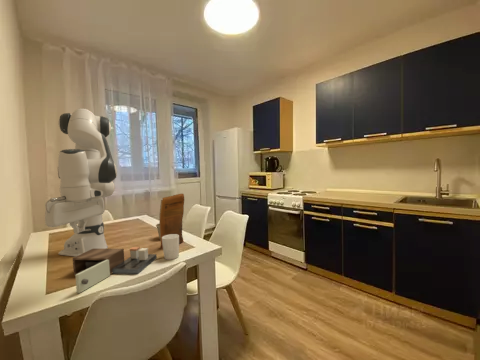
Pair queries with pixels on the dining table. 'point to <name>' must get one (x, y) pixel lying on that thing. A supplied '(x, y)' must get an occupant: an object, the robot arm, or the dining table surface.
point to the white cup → (170, 246)
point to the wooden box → (97, 259)
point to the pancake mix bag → (171, 216)
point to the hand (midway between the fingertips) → (79, 232)
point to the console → (133, 265)
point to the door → (92, 276)
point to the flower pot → (158, 229)
